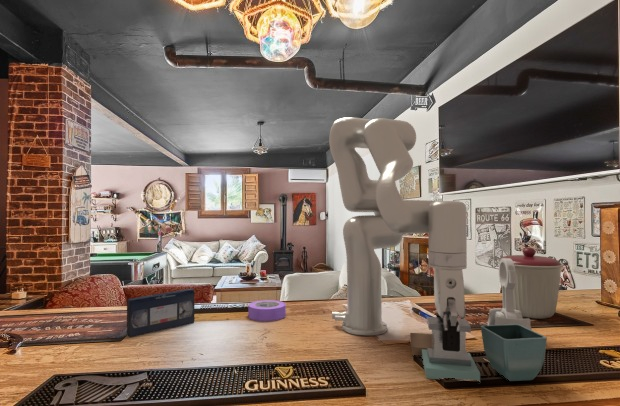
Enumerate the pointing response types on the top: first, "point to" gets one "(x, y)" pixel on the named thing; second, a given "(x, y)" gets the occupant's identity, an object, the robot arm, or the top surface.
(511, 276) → the engine component
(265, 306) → the masking tape
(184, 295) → the vhs cassette tape
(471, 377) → the stand
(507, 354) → the flower pot
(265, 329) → the top surface
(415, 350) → the stand
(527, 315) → the canister
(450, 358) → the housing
